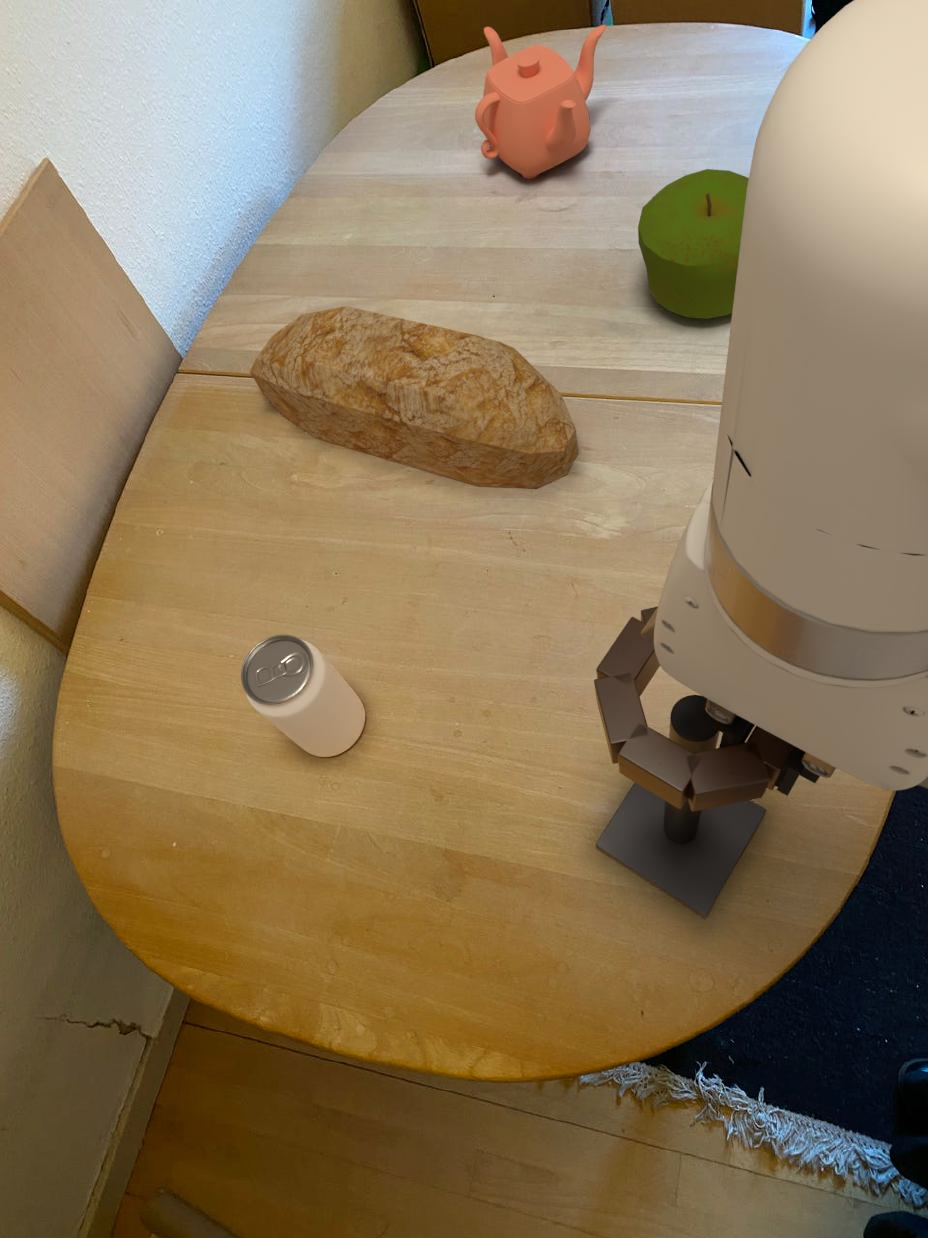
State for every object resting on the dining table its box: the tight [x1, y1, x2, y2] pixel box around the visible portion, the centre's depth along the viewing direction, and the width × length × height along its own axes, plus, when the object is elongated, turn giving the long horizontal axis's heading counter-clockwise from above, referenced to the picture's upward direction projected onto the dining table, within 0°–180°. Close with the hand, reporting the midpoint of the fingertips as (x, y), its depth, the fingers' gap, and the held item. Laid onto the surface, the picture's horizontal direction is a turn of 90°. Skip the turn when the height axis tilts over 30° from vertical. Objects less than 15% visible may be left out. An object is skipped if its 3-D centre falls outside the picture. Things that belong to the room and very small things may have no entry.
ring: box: [593, 605, 794, 811], centre depth 38 cm, size 9×9×3 cm
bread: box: [249, 306, 579, 489], centre depth 81 cm, size 36×11×10 cm, turn 63°
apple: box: [637, 168, 749, 320], centre depth 80 cm, size 12×12×11 cm
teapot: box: [474, 24, 607, 180], centre depth 95 cm, size 14×14×11 cm
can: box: [240, 634, 366, 758], centre depth 67 cm, size 6×6×12 cm
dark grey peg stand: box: [595, 694, 768, 920], centre depth 51 cm, size 9×9×25 cm
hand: (768, 747), depth 38 cm, fingers closed on ring, 2 cm apart
